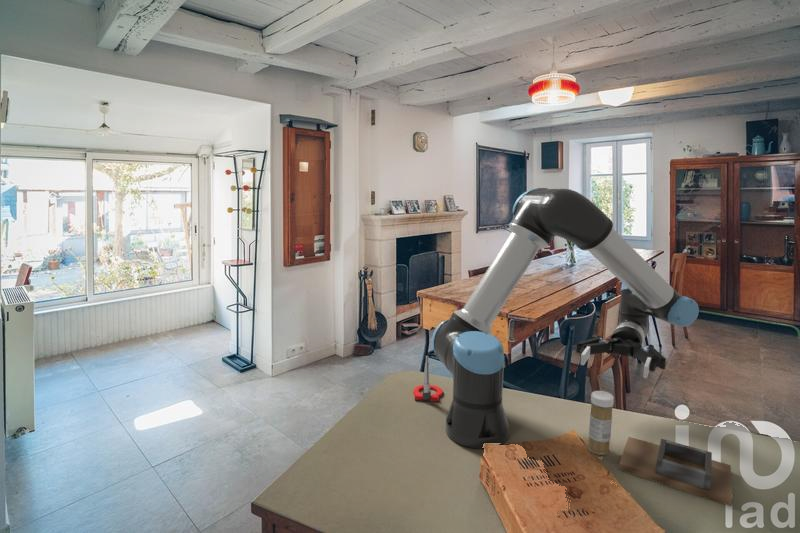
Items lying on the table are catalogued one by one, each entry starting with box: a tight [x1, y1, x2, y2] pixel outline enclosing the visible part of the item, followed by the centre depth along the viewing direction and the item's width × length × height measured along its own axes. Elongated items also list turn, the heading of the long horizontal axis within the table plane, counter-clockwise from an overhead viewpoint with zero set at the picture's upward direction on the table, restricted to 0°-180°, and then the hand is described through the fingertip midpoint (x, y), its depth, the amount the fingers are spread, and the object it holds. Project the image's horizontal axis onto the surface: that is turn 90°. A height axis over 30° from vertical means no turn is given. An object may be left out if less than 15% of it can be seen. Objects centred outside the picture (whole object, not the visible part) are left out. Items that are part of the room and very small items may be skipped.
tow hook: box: [412, 355, 444, 402], centre depth 126 cm, size 8×13×9 cm
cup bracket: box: [618, 436, 733, 507], centre depth 92 cm, size 19×12×4 cm, turn 55°
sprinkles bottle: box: [587, 390, 615, 456], centre depth 98 cm, size 5×5×13 cm
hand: (612, 365), depth 104 cm, fingers open, 13 cm apart
